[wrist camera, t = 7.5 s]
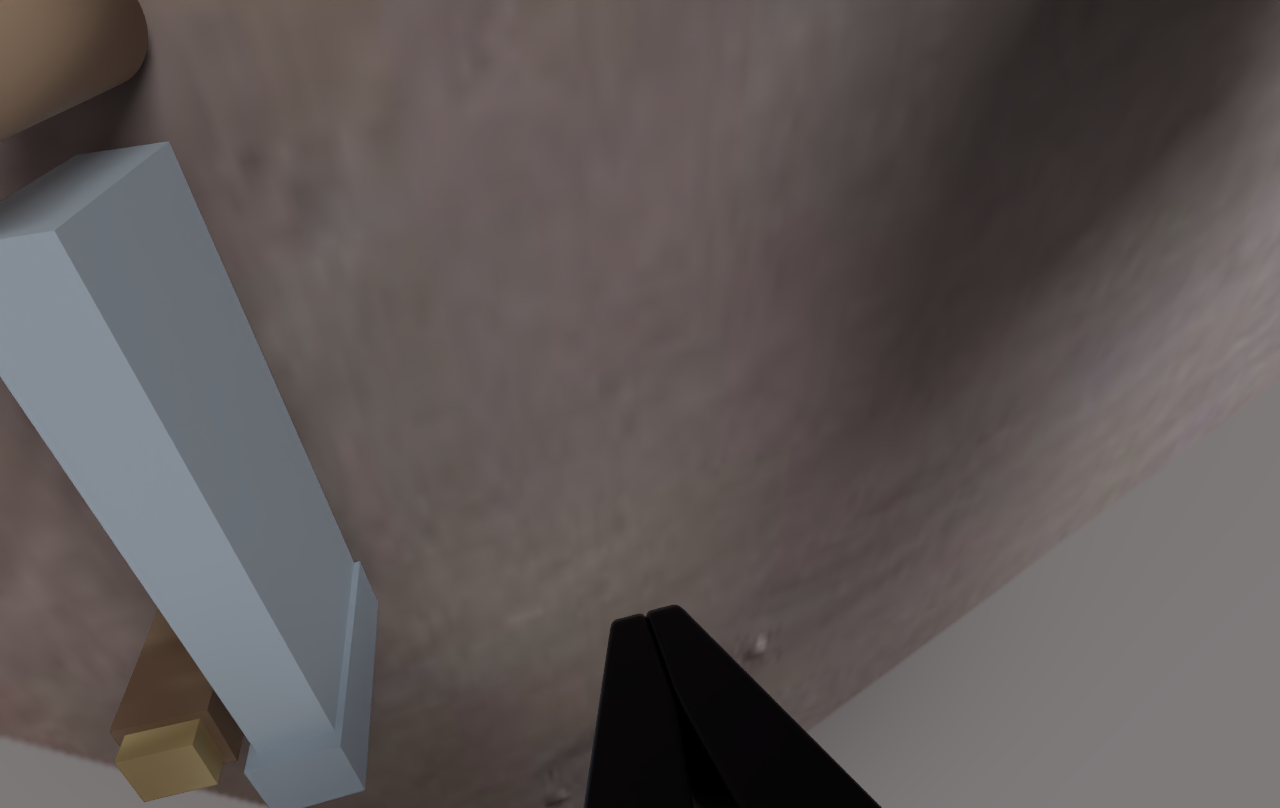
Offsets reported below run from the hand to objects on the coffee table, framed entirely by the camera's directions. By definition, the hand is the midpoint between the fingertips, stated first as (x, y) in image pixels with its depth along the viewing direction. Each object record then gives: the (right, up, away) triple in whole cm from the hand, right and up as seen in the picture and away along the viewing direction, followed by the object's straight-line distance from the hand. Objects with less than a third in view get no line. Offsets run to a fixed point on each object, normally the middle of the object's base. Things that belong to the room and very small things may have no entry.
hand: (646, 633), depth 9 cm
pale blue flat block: (-9, +4, +6) cm, 11 cm away
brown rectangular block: (-11, -2, +10) cm, 15 cm away
